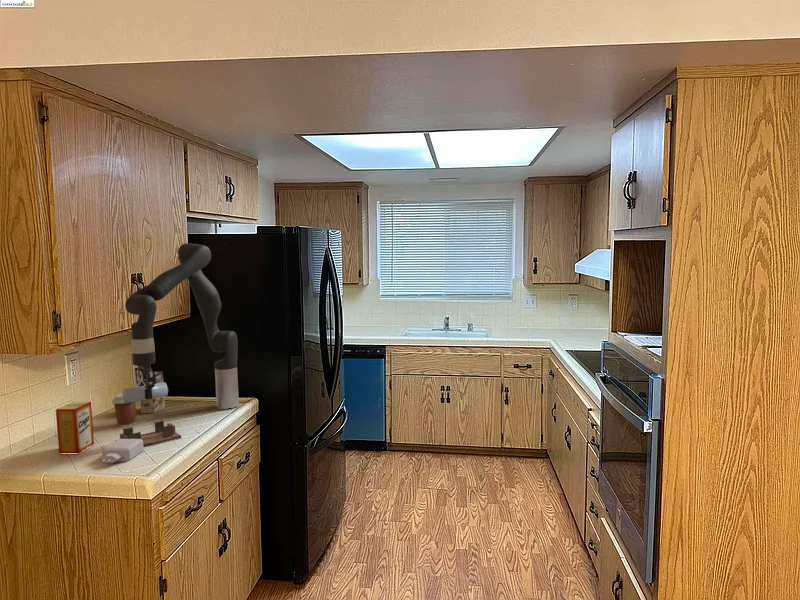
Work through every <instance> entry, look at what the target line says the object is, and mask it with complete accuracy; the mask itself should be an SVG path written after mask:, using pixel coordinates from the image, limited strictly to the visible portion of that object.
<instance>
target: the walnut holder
mask: <svg viewBox="0 0 800 600" xmlns="http://www.w3.org/2000/svg"><path fill="white" fill-rule="evenodd" d="M122 431H123V432H122V433H119V439H141V440H143V447H144V448H146V446H147V447H151V446H155V445H159V444H162V443H166V442H167V441H168V442H171V440H172V441H175V439H176V440H179V438H180V439H182V435H181V434H179V433H178V432H176V425H174V424H172V423H171V422H169V423H167V424H166V425H165V421H164V420H163V419H162V420H159V421H155V422H154V431H151V432H146V433H143V434H142V433H141V431H138V432H134V427H133V426H129V427H124V428H123V429H122ZM117 440H118V439H116V440H114V442H115V441H117Z"/></svg>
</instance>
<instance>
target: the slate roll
mask: <svg viewBox="0 0 800 600" xmlns="http://www.w3.org/2000/svg"><path fill="white" fill-rule="evenodd" d="M122 393H123V400H124V402H125V403H131V402H136V403H137V402H141V401H142V400H146V399H145V388H144V386H136V387H135V386H134V387H128V388H124V389H122ZM168 393H169V388H168V385H167V383H166V382H163V383H158V384H155V386H154V387H153V388H152V399H153V398H158V397H164V398H165V397H168Z"/></svg>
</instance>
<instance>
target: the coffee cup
mask: <svg viewBox="0 0 800 600" xmlns="http://www.w3.org/2000/svg"><path fill="white" fill-rule="evenodd" d="M111 402H112V404H113V406H114V410H115V417H116V424H117V427H119V426H127V427H130V426H129V425H132V424H134V425H136V411H137V410H136V406H137V405H136V403H137V401H136V402H131V403H125V402H124V400H123V392H121V393H118V394H116V395H114V398H113V399H112V400H111ZM132 426H133V425H132Z"/></svg>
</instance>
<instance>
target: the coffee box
mask: <svg viewBox="0 0 800 600" xmlns="http://www.w3.org/2000/svg"><path fill="white" fill-rule="evenodd" d="M154 372H155V384H158V383H164V371H154ZM149 385H150V383H149ZM165 407H166V406H165V396H164V397H158V398H153V399H148V400H142V401H140V413H141V414H155V413H158V412H159V411H161V410H163V409H164V408H165ZM157 411H158V412H157Z"/></svg>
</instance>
